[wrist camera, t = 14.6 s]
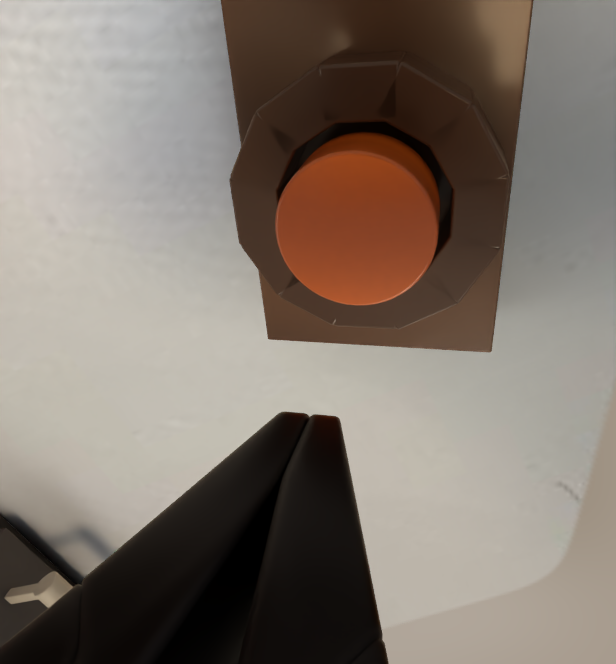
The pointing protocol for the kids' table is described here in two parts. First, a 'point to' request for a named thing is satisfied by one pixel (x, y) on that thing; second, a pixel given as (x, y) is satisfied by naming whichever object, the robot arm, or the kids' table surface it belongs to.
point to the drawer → (24, 586)
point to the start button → (359, 219)
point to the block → (389, 119)
